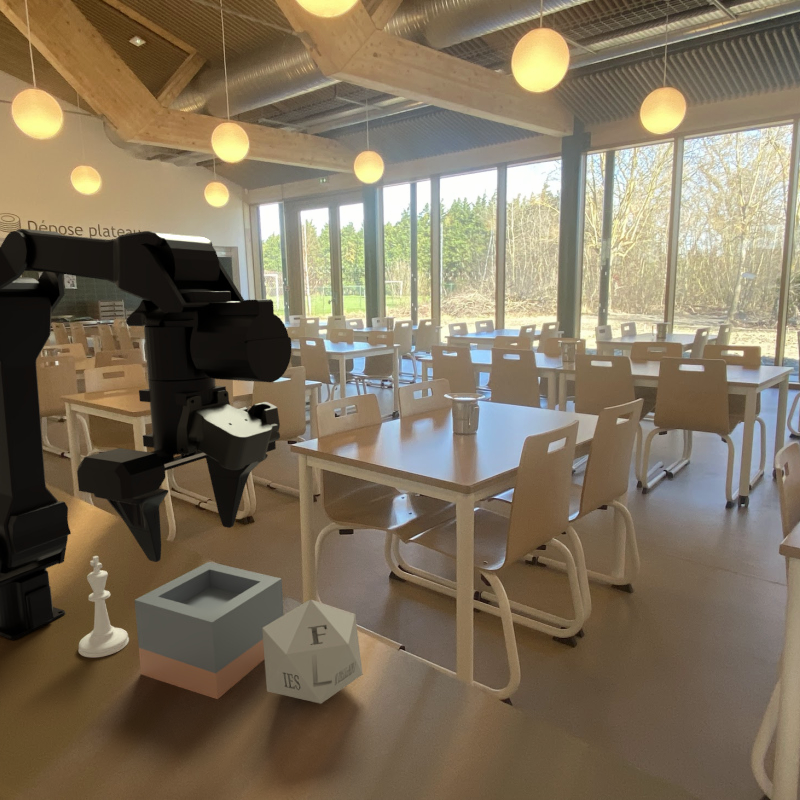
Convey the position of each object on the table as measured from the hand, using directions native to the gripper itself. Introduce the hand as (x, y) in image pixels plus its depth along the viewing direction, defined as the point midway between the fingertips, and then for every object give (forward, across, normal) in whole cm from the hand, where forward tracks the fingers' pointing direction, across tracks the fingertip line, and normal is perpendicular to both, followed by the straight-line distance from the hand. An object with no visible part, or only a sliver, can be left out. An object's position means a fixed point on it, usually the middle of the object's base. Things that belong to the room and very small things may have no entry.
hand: (193, 542), depth 60 cm
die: (+14, +2, -12) cm, 19 cm away
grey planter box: (+14, +3, +1) cm, 15 cm away
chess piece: (+14, 0, +14) cm, 20 cm away
